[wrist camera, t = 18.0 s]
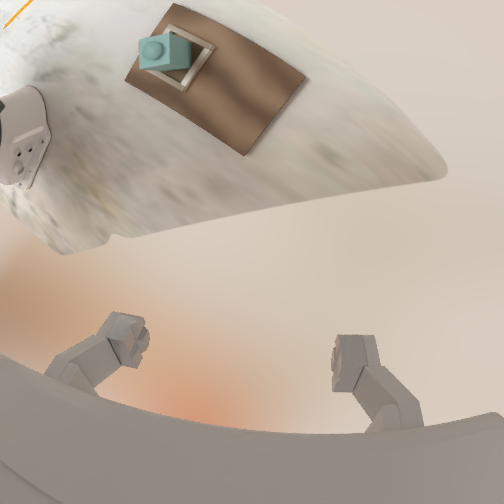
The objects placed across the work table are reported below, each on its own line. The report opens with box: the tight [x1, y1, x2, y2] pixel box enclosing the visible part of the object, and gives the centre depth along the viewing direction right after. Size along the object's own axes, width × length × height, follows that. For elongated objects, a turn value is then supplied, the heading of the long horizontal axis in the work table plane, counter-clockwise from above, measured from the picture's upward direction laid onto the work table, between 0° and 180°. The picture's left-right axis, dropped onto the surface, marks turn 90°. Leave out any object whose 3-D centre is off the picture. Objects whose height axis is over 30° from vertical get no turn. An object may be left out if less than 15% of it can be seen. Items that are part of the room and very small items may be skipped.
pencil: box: [4, 0, 33, 28], centre depth 27 cm, size 1×19×1 cm, turn 104°
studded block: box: [139, 33, 192, 72], centre depth 29 cm, size 4×4×8 cm
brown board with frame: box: [125, 3, 305, 156], centre depth 34 cm, size 14×22×3 cm, turn 55°
